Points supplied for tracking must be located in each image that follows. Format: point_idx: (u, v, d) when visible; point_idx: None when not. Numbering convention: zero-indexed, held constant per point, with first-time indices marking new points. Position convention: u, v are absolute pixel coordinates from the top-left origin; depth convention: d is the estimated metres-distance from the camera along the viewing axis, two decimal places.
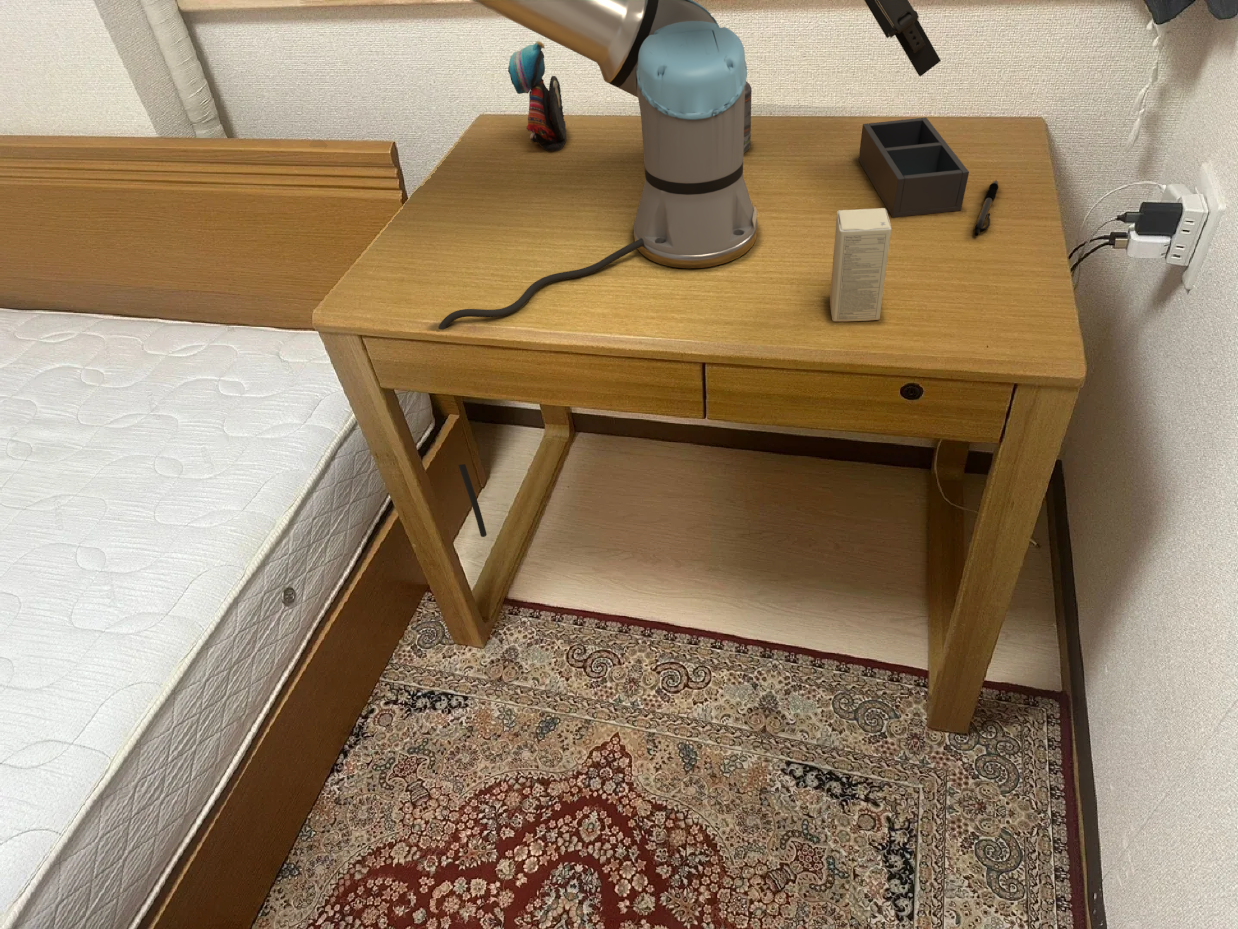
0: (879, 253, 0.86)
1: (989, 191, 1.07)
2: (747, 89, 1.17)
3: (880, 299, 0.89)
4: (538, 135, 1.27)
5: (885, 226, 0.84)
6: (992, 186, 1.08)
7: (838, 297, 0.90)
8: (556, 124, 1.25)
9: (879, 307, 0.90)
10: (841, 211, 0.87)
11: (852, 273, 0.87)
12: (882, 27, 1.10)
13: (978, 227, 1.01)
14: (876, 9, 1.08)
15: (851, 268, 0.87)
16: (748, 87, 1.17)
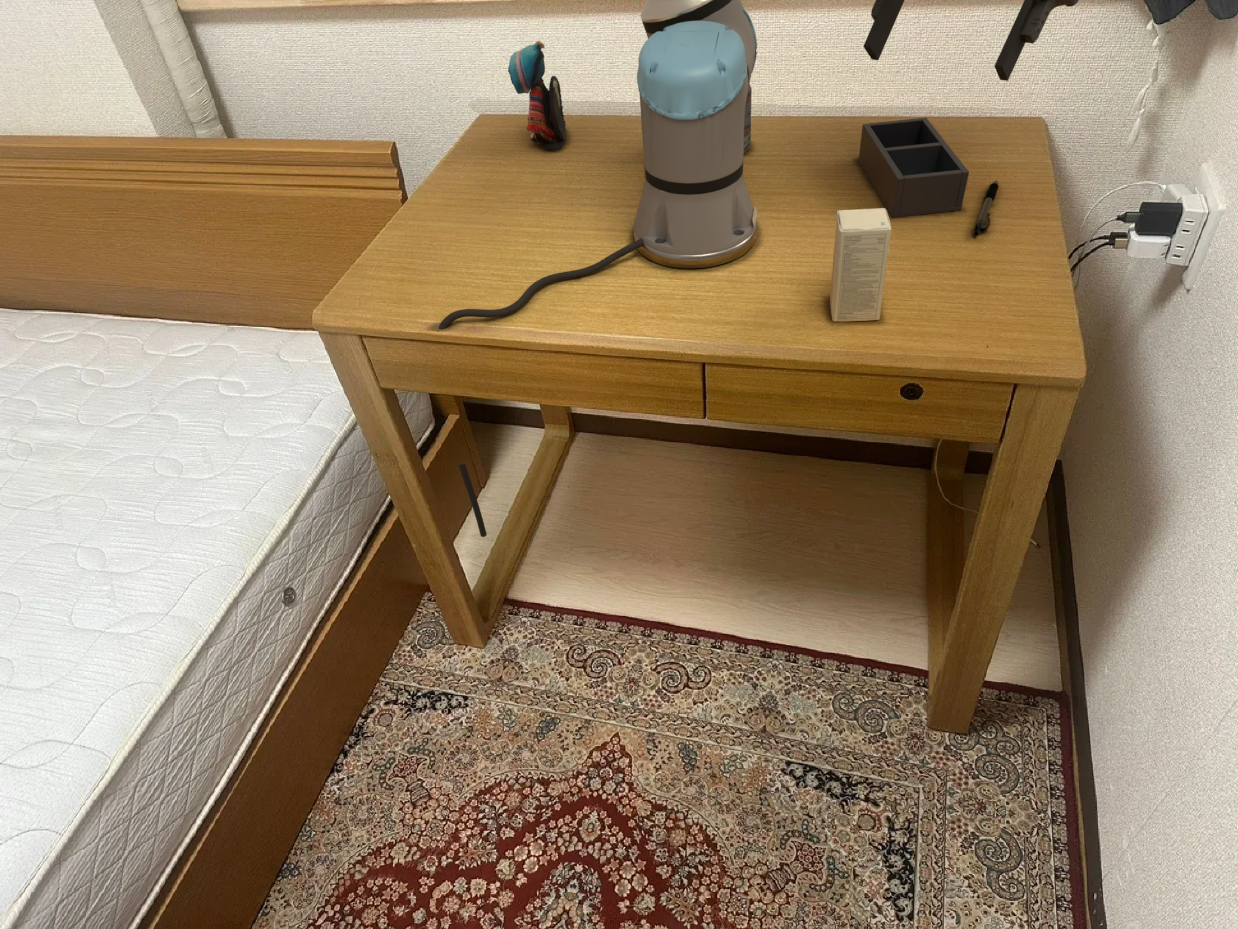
0: (879, 253, 0.86)
1: (989, 191, 1.07)
2: None
3: (880, 299, 0.89)
4: (538, 135, 1.27)
5: (885, 226, 0.84)
6: (992, 186, 1.08)
7: (838, 297, 0.90)
8: (556, 124, 1.25)
9: (879, 307, 0.90)
10: (841, 211, 0.87)
11: (852, 273, 0.87)
12: (877, 32, 0.86)
13: (978, 227, 1.01)
14: (889, 10, 0.86)
15: (851, 268, 0.87)
16: None
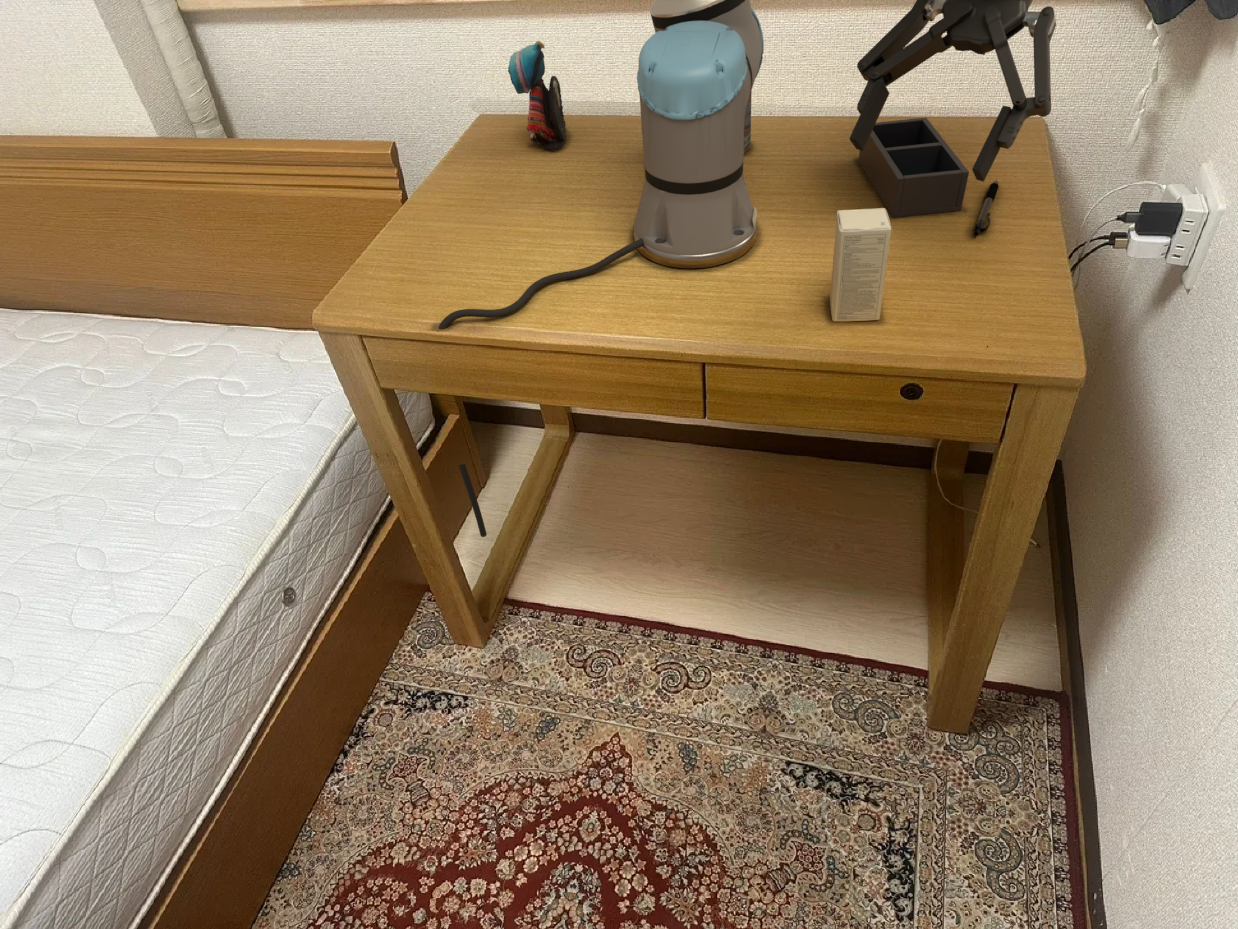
0: (879, 253, 0.86)
1: (989, 191, 1.07)
2: None
3: (880, 299, 0.89)
4: (538, 135, 1.27)
5: (885, 226, 0.84)
6: (992, 186, 1.08)
7: (838, 297, 0.90)
8: (556, 124, 1.25)
9: (879, 307, 0.90)
10: (841, 211, 0.87)
11: (852, 273, 0.87)
12: (862, 126, 0.90)
13: (978, 227, 1.01)
14: (874, 106, 0.90)
15: (851, 268, 0.87)
16: None
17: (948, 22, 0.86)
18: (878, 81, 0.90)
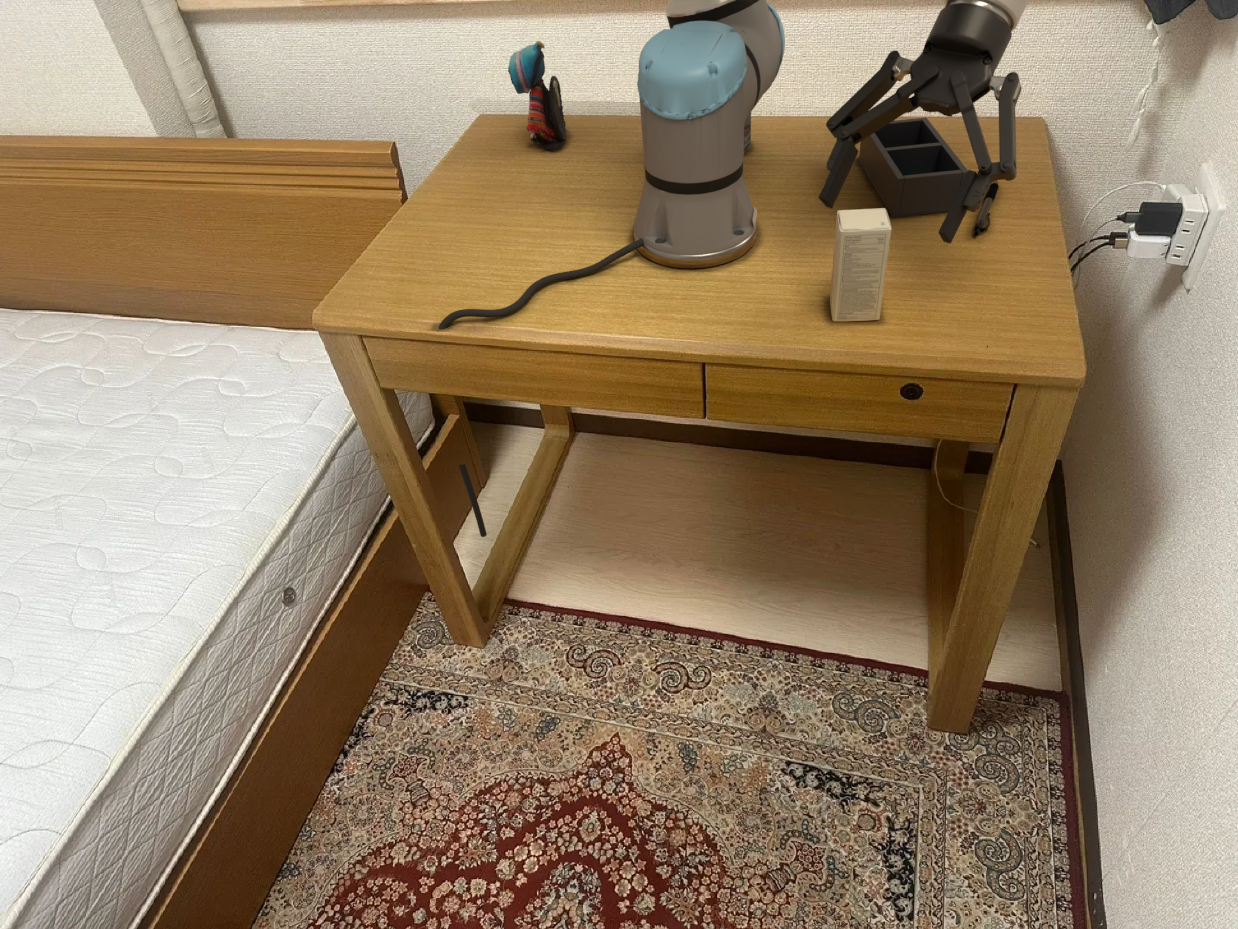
0: (879, 253, 0.86)
1: (989, 191, 1.07)
2: None
3: (880, 299, 0.89)
4: (538, 135, 1.27)
5: (885, 226, 0.84)
6: (992, 186, 1.08)
7: (838, 297, 0.90)
8: (556, 124, 1.25)
9: (879, 307, 0.90)
10: (841, 211, 0.87)
11: (852, 273, 0.87)
12: (831, 185, 0.91)
13: (978, 227, 1.01)
14: (843, 165, 0.91)
15: (851, 268, 0.87)
16: None
17: (915, 84, 0.86)
18: (847, 141, 0.90)
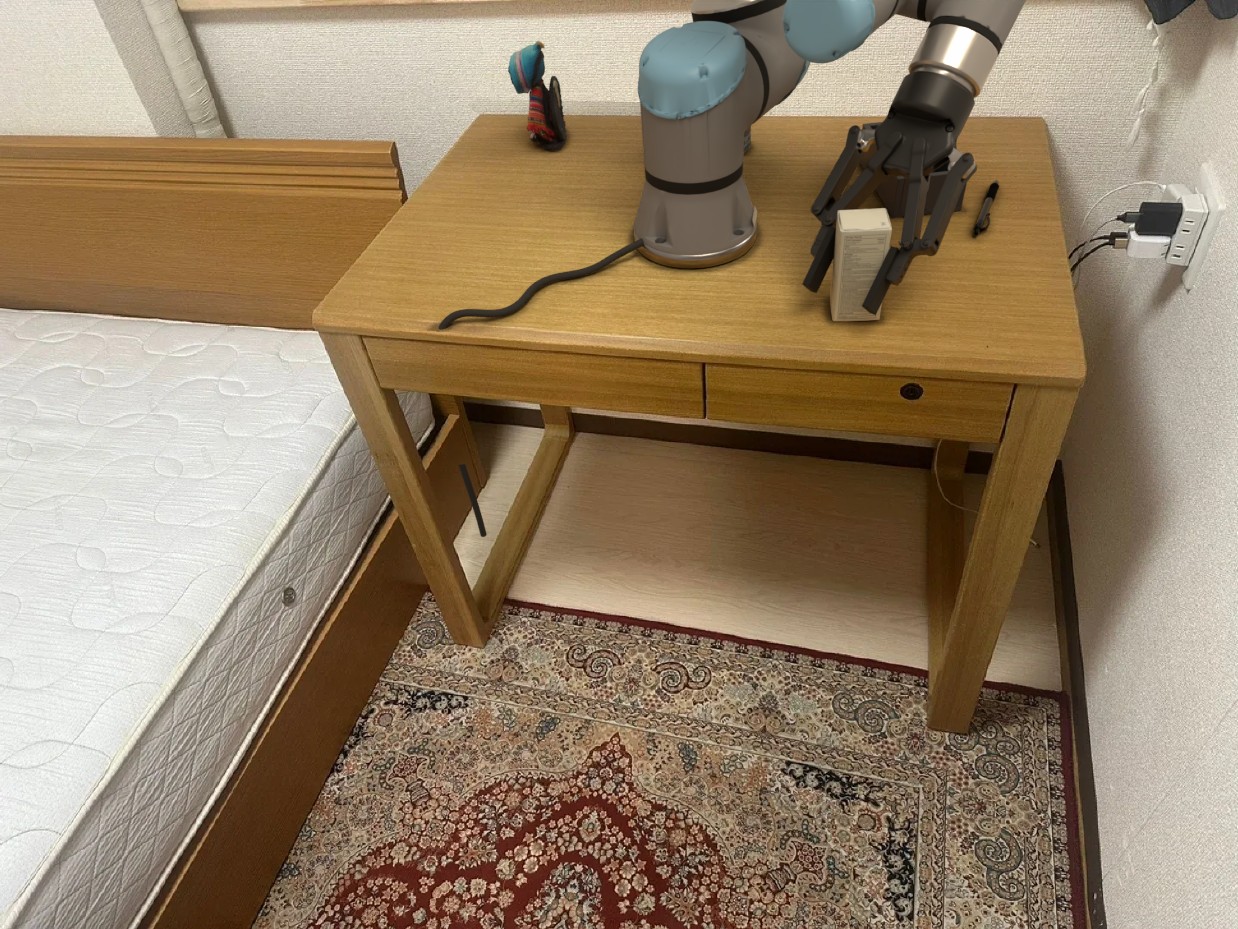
0: (880, 253, 0.86)
1: (989, 191, 1.07)
2: None
3: None
4: (538, 135, 1.27)
5: (885, 226, 0.84)
6: (993, 186, 1.08)
7: (838, 297, 0.90)
8: (556, 124, 1.25)
9: (879, 307, 0.90)
10: (841, 211, 0.87)
11: (852, 273, 0.87)
12: (815, 272, 0.89)
13: (978, 226, 1.01)
14: (827, 252, 0.89)
15: (851, 268, 0.87)
16: None
17: (883, 154, 0.86)
18: (831, 228, 0.89)
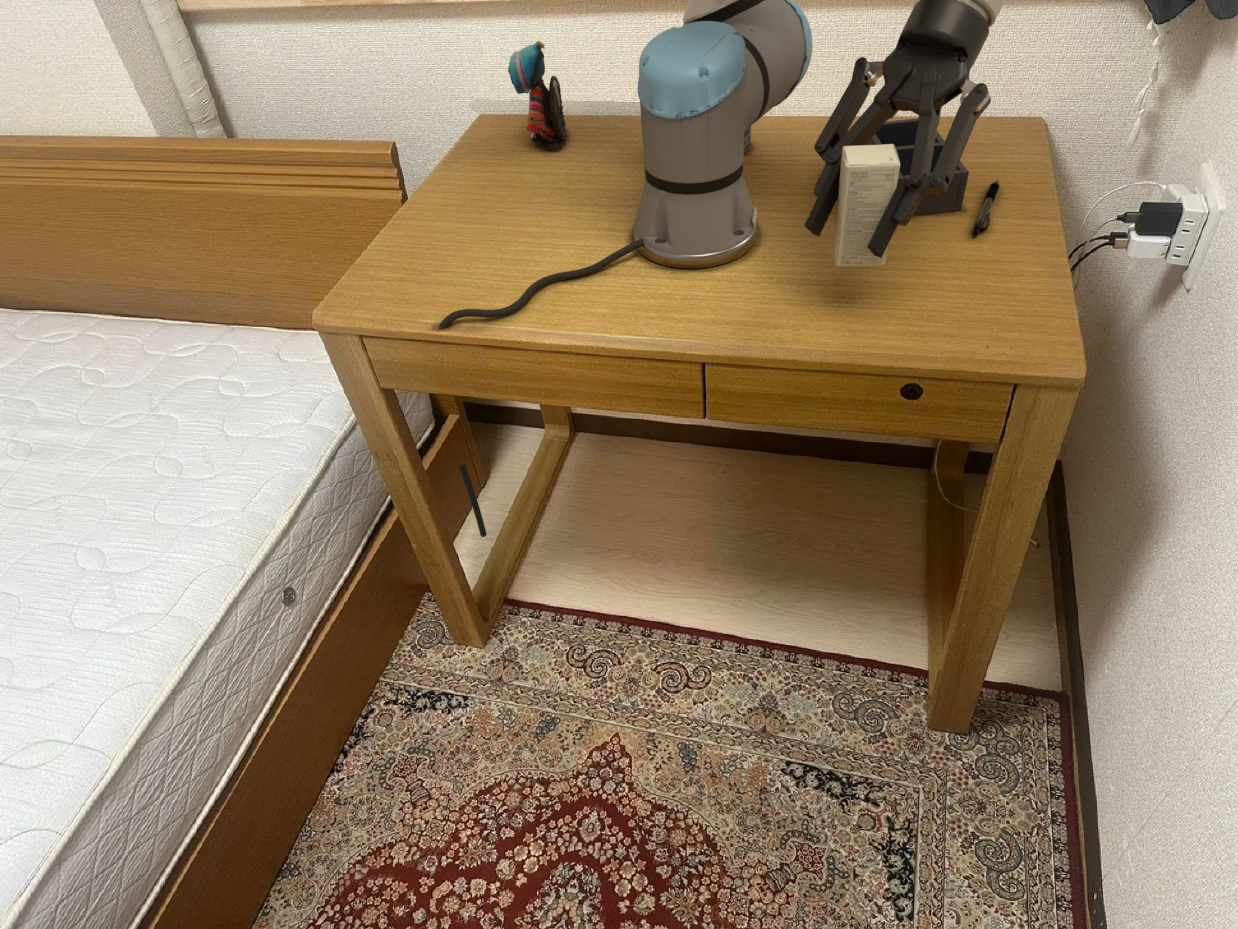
0: (887, 191, 0.81)
1: (989, 191, 1.07)
2: None
3: None
4: (538, 135, 1.27)
5: (893, 161, 0.79)
6: (993, 186, 1.08)
7: (842, 239, 0.85)
8: (556, 124, 1.25)
9: (885, 251, 0.86)
10: (847, 147, 0.82)
11: (857, 213, 0.83)
12: (818, 212, 0.85)
13: (977, 227, 1.01)
14: (831, 191, 0.85)
15: (857, 208, 0.83)
16: None
17: (892, 86, 0.82)
18: (835, 166, 0.84)
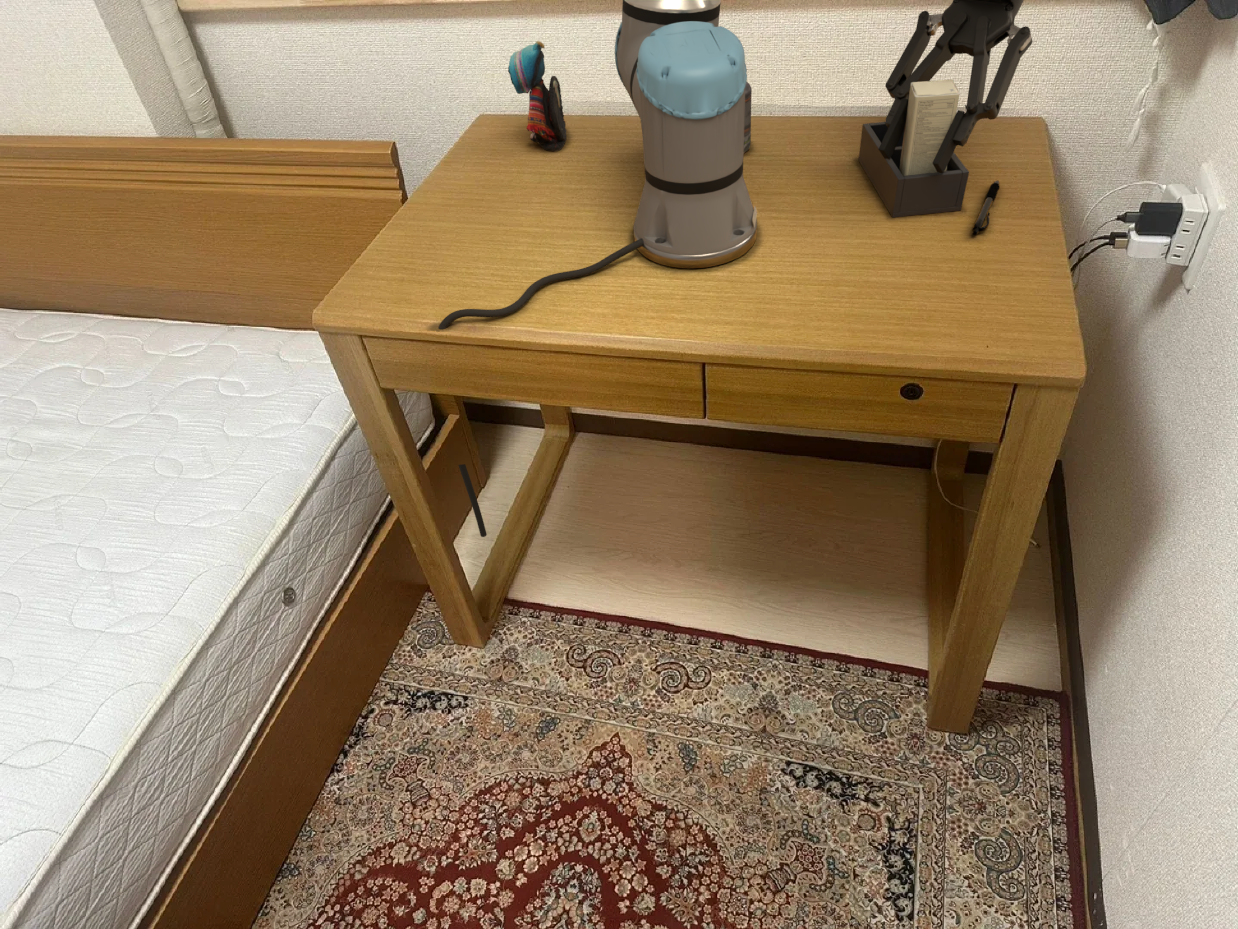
0: (948, 117, 1.00)
1: (990, 191, 1.07)
2: (747, 89, 1.17)
3: None
4: (538, 135, 1.27)
5: (954, 92, 0.98)
6: (993, 186, 1.08)
7: (909, 160, 1.04)
8: (556, 124, 1.25)
9: (945, 169, 1.04)
10: (914, 82, 1.01)
11: (923, 136, 1.02)
12: (890, 138, 1.04)
13: (977, 226, 1.01)
14: (900, 120, 1.04)
15: (923, 132, 1.01)
16: (748, 87, 1.17)
17: (951, 32, 1.01)
18: (904, 99, 1.03)
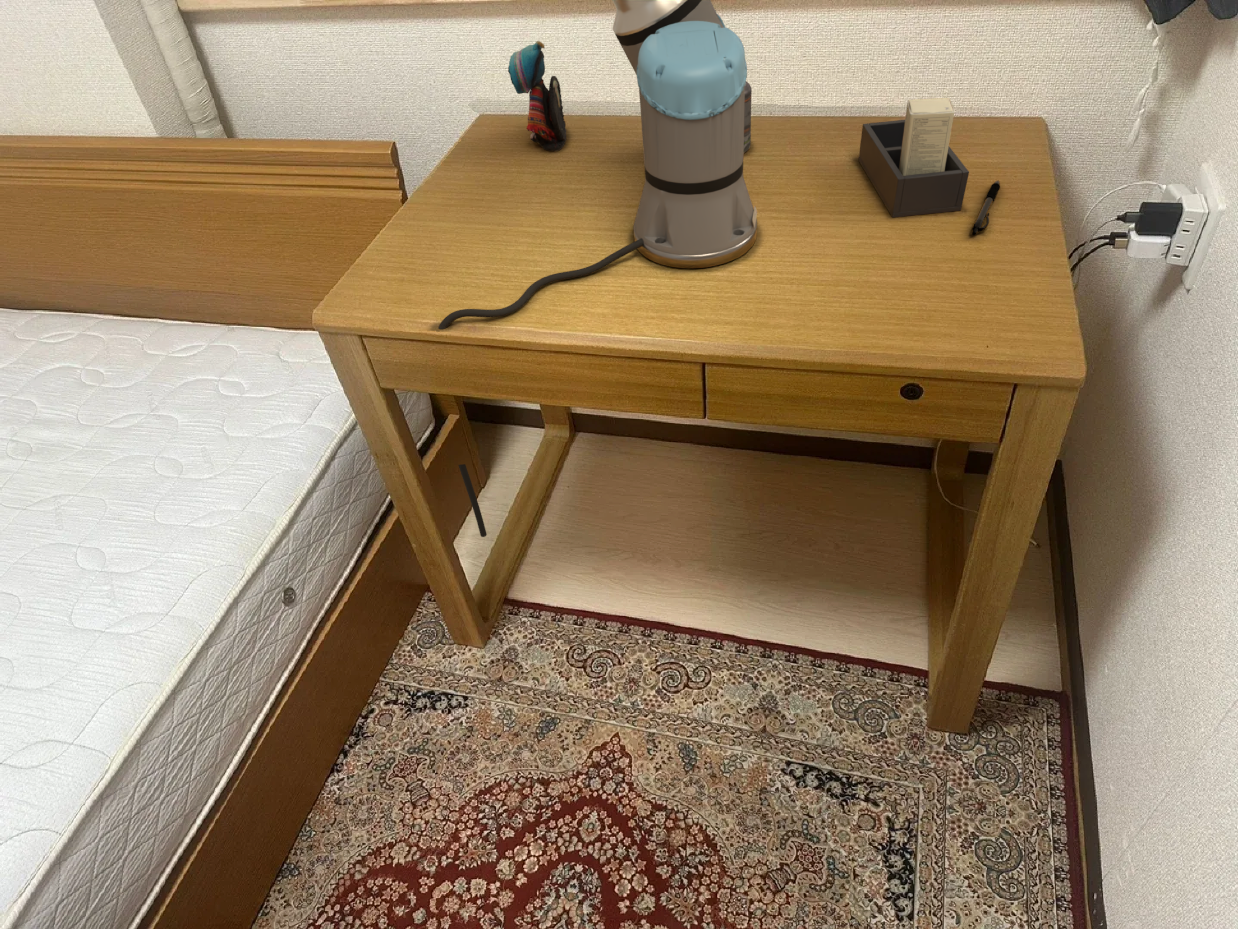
0: (943, 134, 1.01)
1: (990, 191, 1.07)
2: (747, 89, 1.17)
3: None
4: (538, 135, 1.27)
5: (949, 110, 1.00)
6: (993, 186, 1.08)
7: None
8: (556, 124, 1.25)
9: None
10: (911, 100, 1.03)
11: (918, 153, 1.03)
12: None
13: (976, 226, 1.01)
14: None
15: (918, 148, 1.03)
16: (748, 87, 1.17)
17: None
18: None
